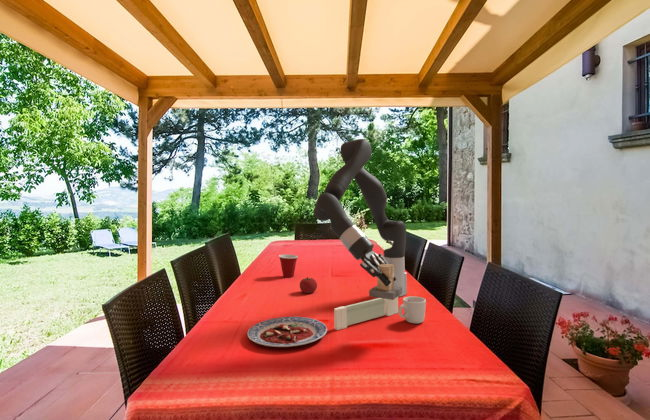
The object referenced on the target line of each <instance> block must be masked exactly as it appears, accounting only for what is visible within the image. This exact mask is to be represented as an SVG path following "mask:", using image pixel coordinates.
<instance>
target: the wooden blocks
mask: <svg viewBox="0 0 650 420" xmlns="http://www.w3.org/2000/svg"><path fill="white" fill-rule="evenodd" d="M384 301H385V303H384V311H385V315H384V316H388V317H389V316H390V317H391V316H393V315H396V314H399V311H398V310H399V296H398V297H397V298H395V299H394V300H391V299H384ZM333 309H334V310H333V316H334V319H333V320H334V323H333V325H334V326H333V327H334V330H336V331H338V330H344V329H347V328H348V326H347V308H346V307H345V306H343V305H342V306H338V307H336V308H333Z"/></svg>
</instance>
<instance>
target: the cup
mask: <svg viewBox="0 0 650 420" xmlns="http://www.w3.org/2000/svg"><path fill="white" fill-rule="evenodd" d="M402 302H403V303H402V304H401V305H399V306H398V315H399V317H401V318H402V319H405V321H406V322H408V323H411V324H421V323H422V324H423V322H424V321H425V318H426V317H425V315H426V305H427V300H426V298H424V297H421V296H417V295H416V296H415V295H412V296H405V297H403V298H402ZM403 312H404V313H403Z"/></svg>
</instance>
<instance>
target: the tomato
mask: <svg viewBox="0 0 650 420" xmlns="http://www.w3.org/2000/svg"><path fill="white" fill-rule="evenodd" d="M299 288H300V291H301V292H303V293H304V294H305V295H306V294H307V295H308V294H312V293H315V291H316V290H317V288H318V283H317V281H316V279H314V278H312V277H310V278H309V277H305V278H302V279H301V280H300V282H299Z"/></svg>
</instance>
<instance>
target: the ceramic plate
mask: <svg viewBox="0 0 650 420" xmlns="http://www.w3.org/2000/svg"><path fill="white" fill-rule="evenodd" d="M327 332H328V327H327V325H326V324H325V323H324V322H322V321H320V320H318V319H315V318H312V317H306V316H303V317H302V316H283V317H282V316H281V317H275V318H274V317H273V318H270V319H266V320H263V321H262V320H261V321H260V322H258V323H255V324H254V325H252V326H251V327H250V328H249V329H248V331H247V337H248V338H249V340H250V341H252V342H254V343H255V344H258V345H262V346H265V347H273V348H274V347H275V348H289V347H298V346H303V345H307V344H311V343H313V342H316V341H318V340H319V339H322V338H323V337H324V336H326V334H327Z"/></svg>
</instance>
